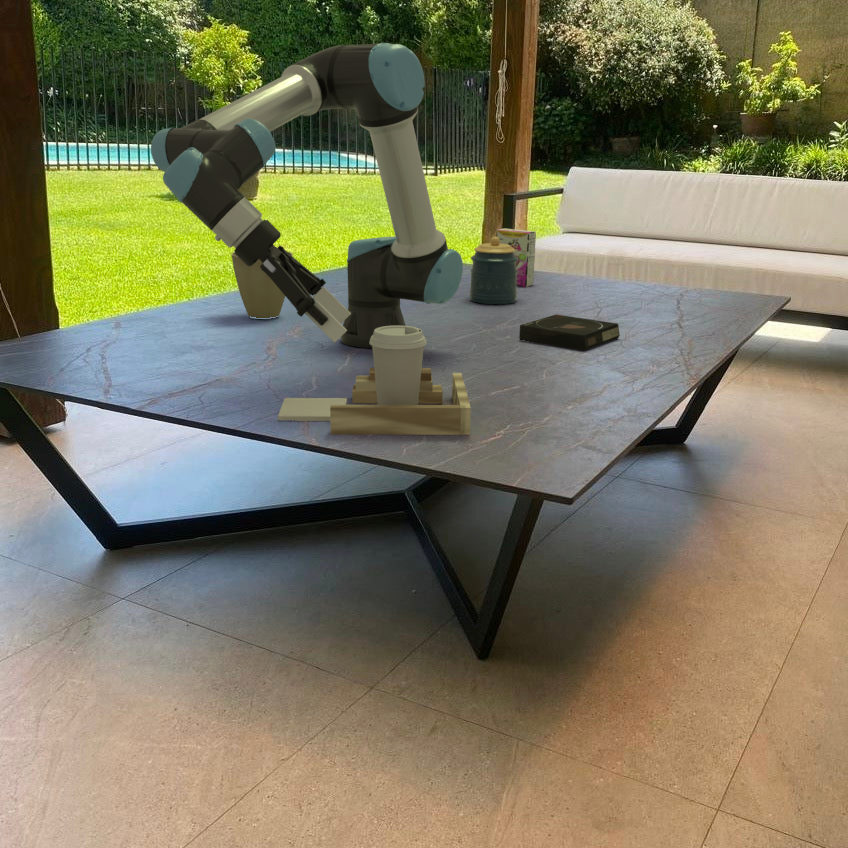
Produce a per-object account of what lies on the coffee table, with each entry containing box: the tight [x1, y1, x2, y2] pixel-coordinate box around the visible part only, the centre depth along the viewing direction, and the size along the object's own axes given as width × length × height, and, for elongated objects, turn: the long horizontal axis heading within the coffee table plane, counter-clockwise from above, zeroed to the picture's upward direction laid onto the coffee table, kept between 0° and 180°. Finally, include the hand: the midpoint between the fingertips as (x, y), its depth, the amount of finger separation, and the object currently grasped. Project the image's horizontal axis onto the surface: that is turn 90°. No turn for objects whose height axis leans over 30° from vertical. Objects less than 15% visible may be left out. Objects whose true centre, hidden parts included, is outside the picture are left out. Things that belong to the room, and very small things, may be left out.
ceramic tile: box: [277, 397, 348, 422], centre depth 168 cm, size 11×11×1 cm
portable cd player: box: [518, 313, 621, 352], centre depth 224 cm, size 16×17×4 cm
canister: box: [469, 236, 518, 305], centre depth 267 cm, size 13×13×18 cm
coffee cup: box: [369, 325, 428, 405], centre depth 163 cm, size 10×10×15 cm
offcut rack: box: [329, 372, 472, 436], centre depth 166 cm, size 22×22×4 cm
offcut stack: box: [351, 367, 444, 405], centre depth 175 cm, size 4×16×5 cm, turn 92°
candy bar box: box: [495, 228, 537, 288], centre depth 293 cm, size 11×5×16 cm, turn 58°
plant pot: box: [230, 251, 294, 318], centre depth 242 cm, size 15×15×16 cm
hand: (343, 327), depth 160 cm, fingers open, 13 cm apart
